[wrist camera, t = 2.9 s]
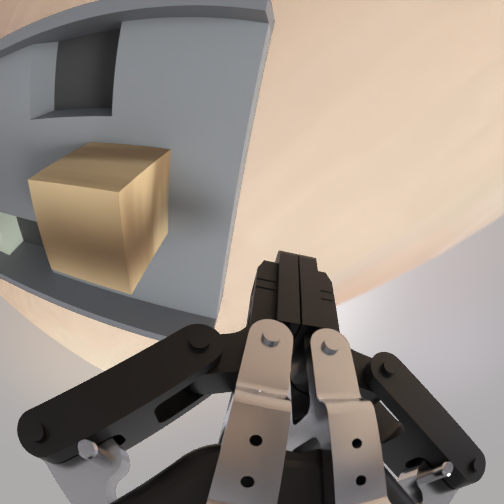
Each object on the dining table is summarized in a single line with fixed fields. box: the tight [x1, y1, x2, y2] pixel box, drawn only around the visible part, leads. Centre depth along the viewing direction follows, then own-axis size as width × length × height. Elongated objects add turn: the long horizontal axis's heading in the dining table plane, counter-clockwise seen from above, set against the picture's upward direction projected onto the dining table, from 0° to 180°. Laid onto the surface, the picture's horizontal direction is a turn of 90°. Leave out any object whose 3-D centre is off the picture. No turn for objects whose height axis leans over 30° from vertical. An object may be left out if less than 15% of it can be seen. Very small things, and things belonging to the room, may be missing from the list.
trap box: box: [0, 0, 275, 341], centre depth 14 cm, size 20×30×6 cm, turn 80°
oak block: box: [28, 142, 171, 295], centre depth 12 cm, size 5×5×5 cm
